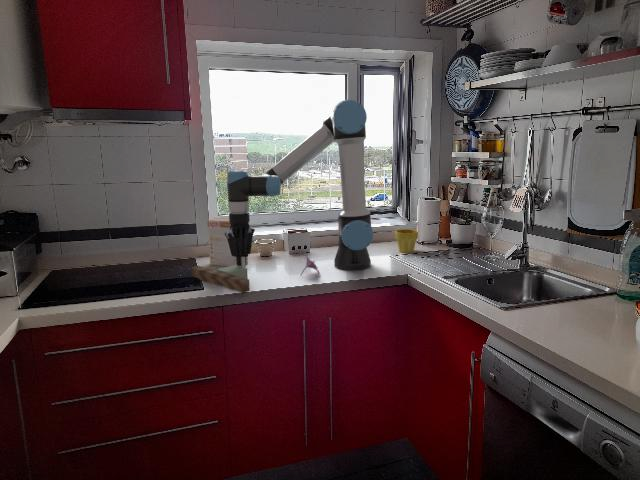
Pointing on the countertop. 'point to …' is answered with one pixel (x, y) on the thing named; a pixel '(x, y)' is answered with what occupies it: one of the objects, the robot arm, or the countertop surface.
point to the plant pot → (406, 239)
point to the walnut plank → (221, 278)
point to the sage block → (235, 271)
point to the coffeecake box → (220, 242)
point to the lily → (310, 264)
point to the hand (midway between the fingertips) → (242, 273)
